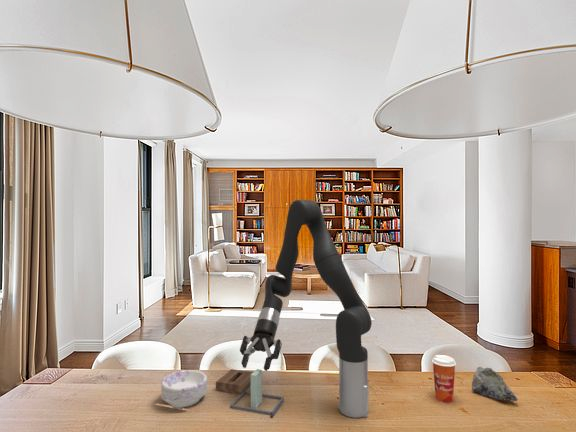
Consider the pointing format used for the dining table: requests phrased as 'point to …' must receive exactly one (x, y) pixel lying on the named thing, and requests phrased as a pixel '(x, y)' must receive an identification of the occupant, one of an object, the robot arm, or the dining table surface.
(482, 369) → the mineral rock
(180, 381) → the paper bowls
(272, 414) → the charcoal tray
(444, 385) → the paper cup
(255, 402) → the pale green rectangular block
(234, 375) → the walnut slotted block
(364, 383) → the robot arm
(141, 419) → the dining table surface
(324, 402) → the dining table surface
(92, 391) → the dining table surface
